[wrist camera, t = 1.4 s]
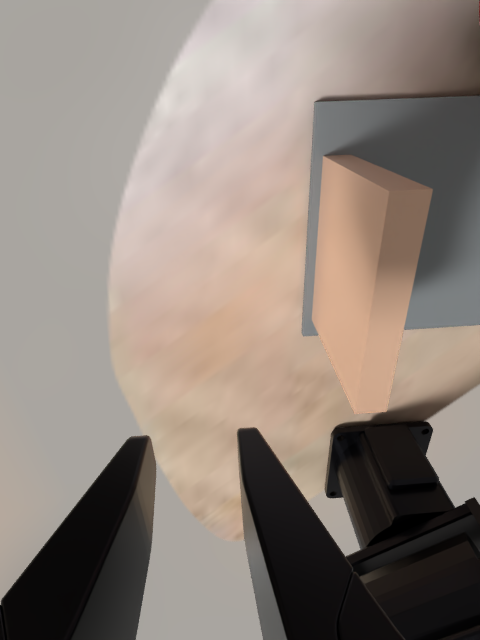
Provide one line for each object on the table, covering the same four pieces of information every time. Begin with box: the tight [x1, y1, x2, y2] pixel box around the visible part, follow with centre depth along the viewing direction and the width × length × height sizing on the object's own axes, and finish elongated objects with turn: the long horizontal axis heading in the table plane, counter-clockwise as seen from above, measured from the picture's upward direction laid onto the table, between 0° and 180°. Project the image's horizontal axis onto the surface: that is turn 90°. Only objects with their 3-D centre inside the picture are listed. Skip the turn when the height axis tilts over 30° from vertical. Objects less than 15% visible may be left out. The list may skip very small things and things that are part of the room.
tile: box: [312, 155, 433, 414], centre depth 16 cm, size 8×1×7 cm, turn 2°
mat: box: [302, 96, 480, 336], centre depth 19 cm, size 11×10×1 cm
